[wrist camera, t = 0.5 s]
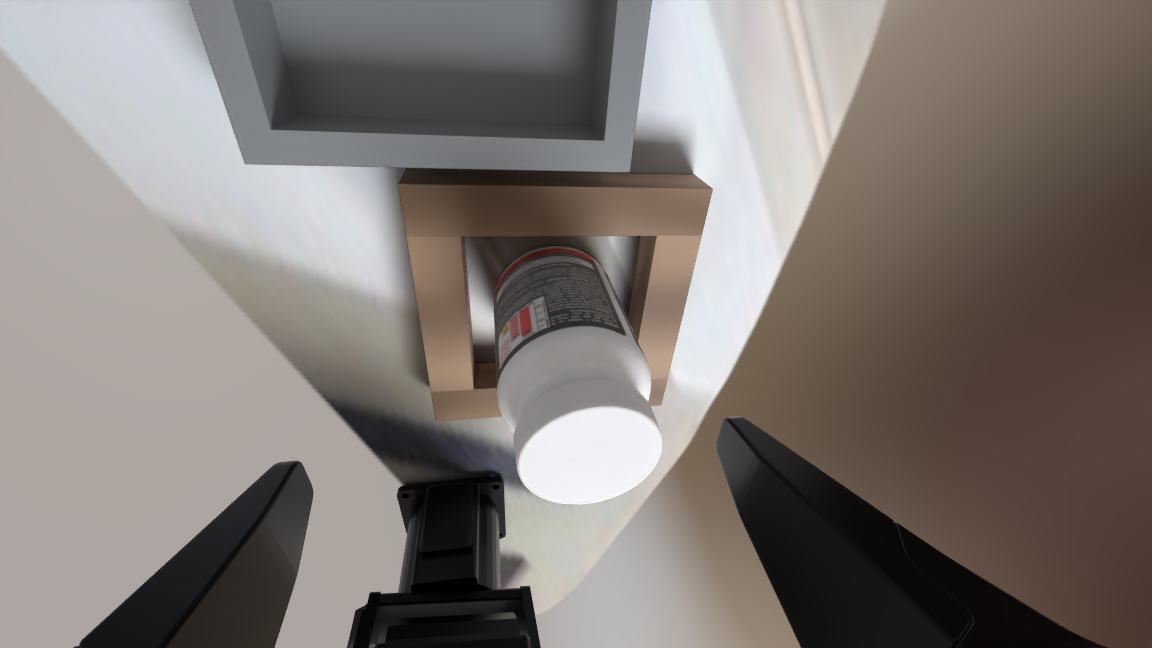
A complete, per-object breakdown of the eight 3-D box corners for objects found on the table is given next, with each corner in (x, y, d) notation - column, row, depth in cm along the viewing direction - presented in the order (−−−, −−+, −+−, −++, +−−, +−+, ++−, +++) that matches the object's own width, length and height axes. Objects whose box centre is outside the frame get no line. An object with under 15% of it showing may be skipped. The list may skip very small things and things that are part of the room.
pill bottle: (469, 305, 21) (458, 480, 13) (546, 217, 20) (586, 359, 12) (558, 358, 24) (593, 530, 16) (632, 286, 22) (714, 440, 14)
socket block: (650, 381, 26) (661, 405, 25) (438, 394, 24) (435, 421, 23) (694, 174, 20) (712, 188, 18) (406, 168, 18) (398, 184, 16)
